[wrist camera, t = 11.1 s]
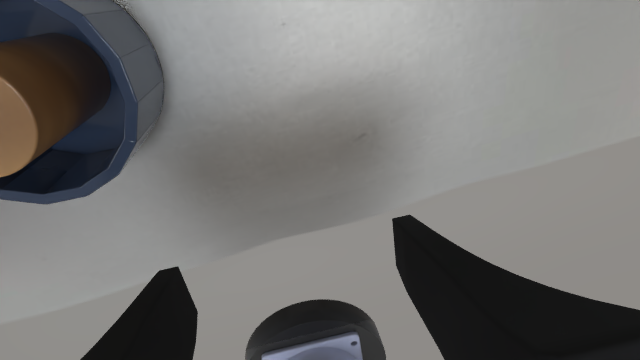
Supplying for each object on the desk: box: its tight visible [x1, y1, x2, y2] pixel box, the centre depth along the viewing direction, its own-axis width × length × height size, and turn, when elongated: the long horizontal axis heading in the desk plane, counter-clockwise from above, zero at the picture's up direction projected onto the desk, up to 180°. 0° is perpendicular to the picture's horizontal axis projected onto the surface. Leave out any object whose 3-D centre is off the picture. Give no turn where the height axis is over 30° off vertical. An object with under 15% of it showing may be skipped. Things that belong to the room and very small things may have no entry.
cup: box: [0, 0, 164, 204], centre depth 16 cm, size 9×9×5 cm
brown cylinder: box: [0, 33, 111, 177], centre depth 15 cm, size 4×4×7 cm
